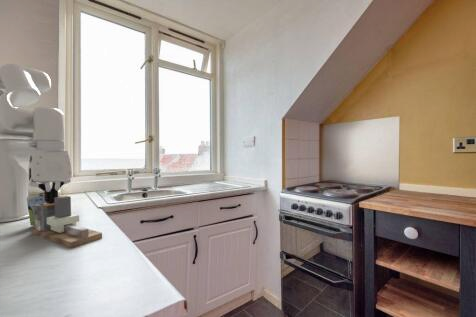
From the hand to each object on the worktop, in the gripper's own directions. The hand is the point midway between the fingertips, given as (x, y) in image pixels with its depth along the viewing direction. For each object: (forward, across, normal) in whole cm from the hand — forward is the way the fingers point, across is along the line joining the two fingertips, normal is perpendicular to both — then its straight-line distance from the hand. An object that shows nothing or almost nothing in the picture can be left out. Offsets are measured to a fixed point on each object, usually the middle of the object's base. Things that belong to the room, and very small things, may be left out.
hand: (51, 202), depth 72 cm
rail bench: (+9, 0, -9) cm, 13 cm away
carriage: (+7, 0, -7) cm, 10 cm away
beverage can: (+9, +1, +11) cm, 15 cm away
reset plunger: (+3, 0, 0) cm, 3 cm away
